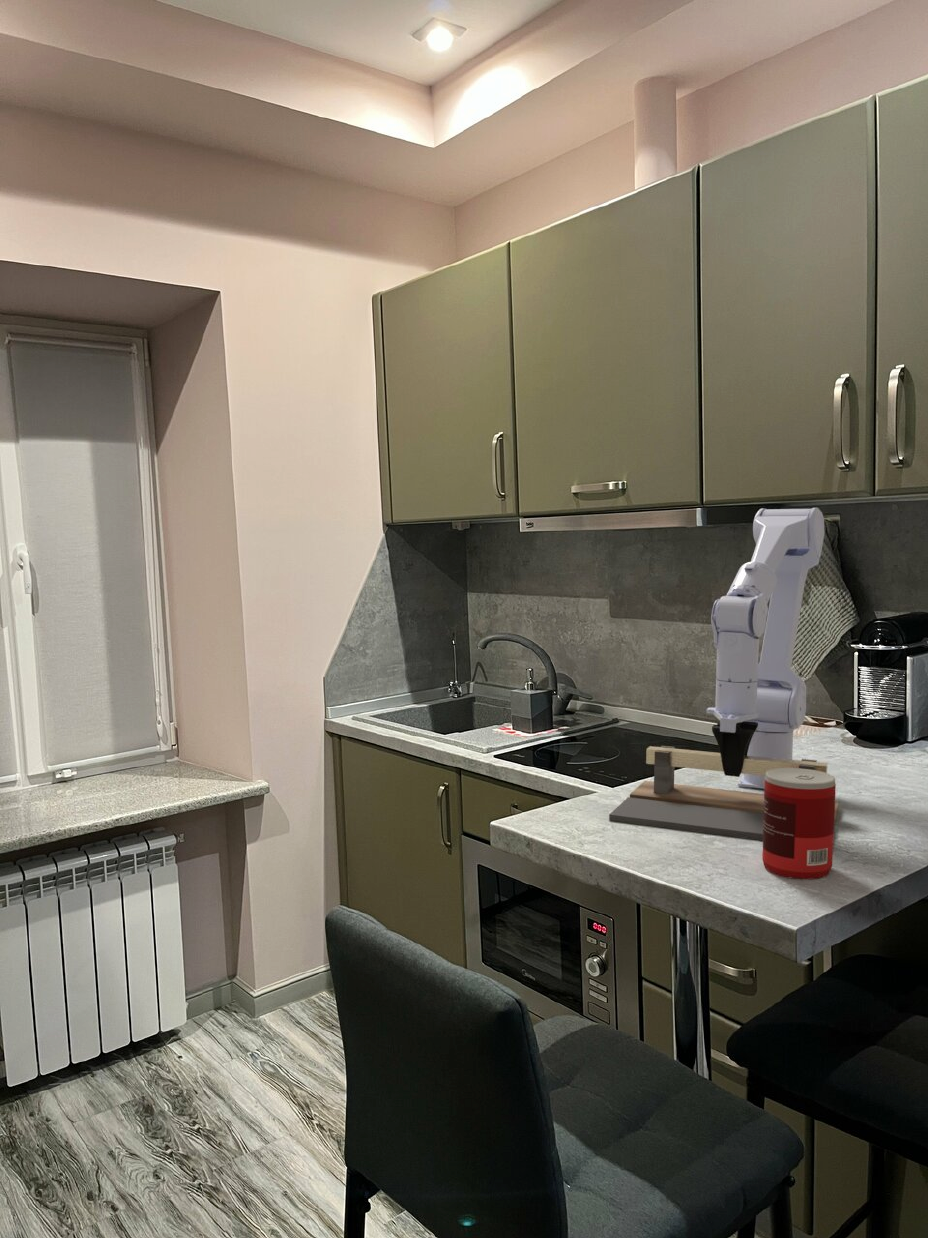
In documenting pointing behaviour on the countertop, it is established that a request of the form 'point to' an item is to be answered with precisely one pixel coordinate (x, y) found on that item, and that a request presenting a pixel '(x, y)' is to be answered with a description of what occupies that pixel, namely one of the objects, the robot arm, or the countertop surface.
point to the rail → (714, 761)
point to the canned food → (798, 822)
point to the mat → (690, 818)
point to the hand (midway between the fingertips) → (733, 773)
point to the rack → (699, 790)
